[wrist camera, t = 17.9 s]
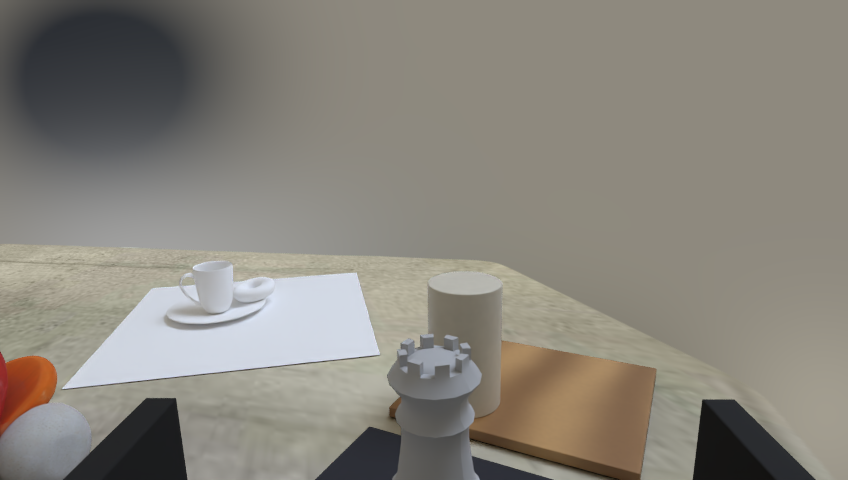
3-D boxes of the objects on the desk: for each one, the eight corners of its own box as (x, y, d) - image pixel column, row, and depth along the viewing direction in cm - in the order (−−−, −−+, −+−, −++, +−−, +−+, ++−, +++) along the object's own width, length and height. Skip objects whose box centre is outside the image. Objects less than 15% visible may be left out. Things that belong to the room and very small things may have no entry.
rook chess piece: (520, 543, 20) (526, 347, 18) (438, 623, 17) (435, 397, 15) (435, 486, 23) (432, 314, 21) (353, 545, 20) (341, 350, 18)
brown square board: (655, 376, 33) (656, 368, 33) (639, 485, 24) (640, 474, 24) (464, 340, 39) (464, 333, 39) (389, 416, 29) (388, 406, 29)
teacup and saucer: (278, 291, 50) (274, 249, 49) (272, 322, 43) (267, 274, 42) (179, 299, 49) (173, 256, 48) (155, 333, 41) (148, 283, 40)
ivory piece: (509, 390, 31) (512, 276, 29) (485, 426, 27) (487, 299, 26) (446, 376, 33) (446, 267, 31) (416, 408, 29) (414, 288, 27)
